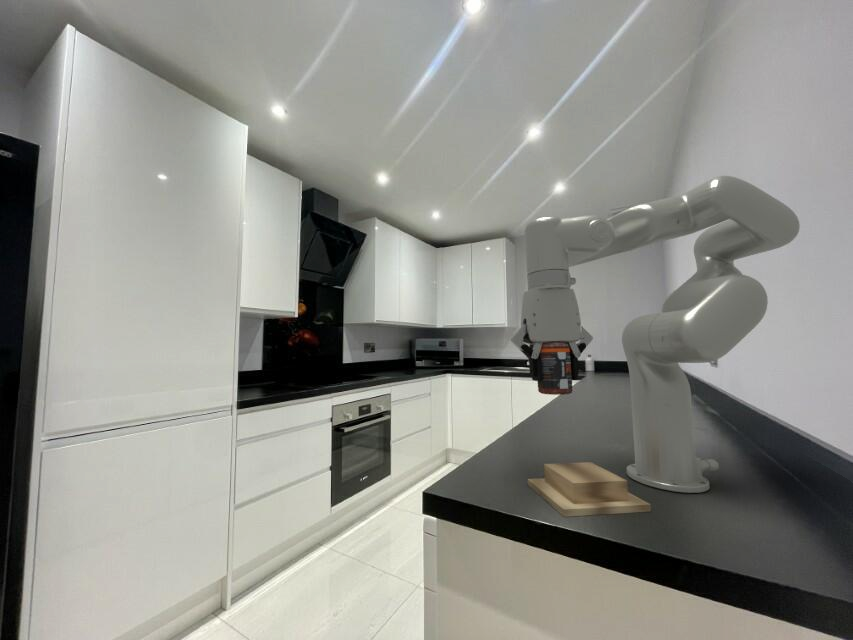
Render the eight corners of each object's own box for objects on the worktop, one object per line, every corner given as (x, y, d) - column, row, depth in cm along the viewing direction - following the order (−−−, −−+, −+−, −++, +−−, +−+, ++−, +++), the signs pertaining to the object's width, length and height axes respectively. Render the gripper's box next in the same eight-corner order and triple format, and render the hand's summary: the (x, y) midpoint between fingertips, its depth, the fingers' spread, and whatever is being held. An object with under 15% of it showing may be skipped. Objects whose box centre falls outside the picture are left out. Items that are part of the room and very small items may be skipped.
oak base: (599, 481, 61) (597, 459, 62) (651, 511, 49) (649, 483, 50) (527, 484, 59) (527, 461, 60) (564, 516, 47) (563, 487, 48)
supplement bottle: (576, 395, 56) (571, 330, 58) (539, 395, 58) (535, 331, 59) (569, 391, 62) (565, 332, 63) (536, 391, 64) (533, 333, 65)
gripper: (580, 287, 67) (587, 377, 65) (498, 288, 65) (502, 380, 63) (603, 279, 59) (612, 380, 57) (510, 279, 58) (516, 383, 56)
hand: (554, 379), depth 60 cm, fingers closed on supplement bottle, 6 cm apart
